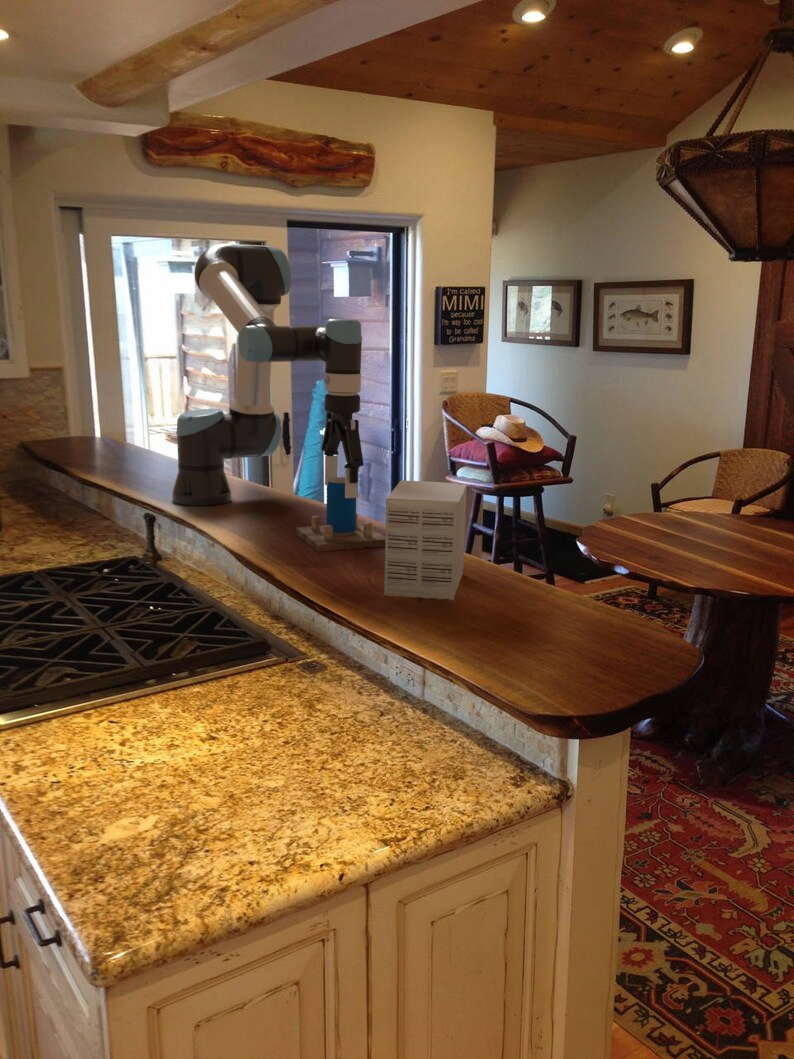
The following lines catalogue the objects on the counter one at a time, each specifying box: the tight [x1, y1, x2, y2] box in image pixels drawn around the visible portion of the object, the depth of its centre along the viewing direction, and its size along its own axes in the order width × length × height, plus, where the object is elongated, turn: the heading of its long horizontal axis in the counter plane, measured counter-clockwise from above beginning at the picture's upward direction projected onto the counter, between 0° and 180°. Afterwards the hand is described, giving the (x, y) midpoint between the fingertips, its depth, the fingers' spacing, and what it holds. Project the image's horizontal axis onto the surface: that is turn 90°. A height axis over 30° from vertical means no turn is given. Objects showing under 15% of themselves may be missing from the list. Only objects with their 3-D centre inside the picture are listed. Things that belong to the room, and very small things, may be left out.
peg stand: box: [295, 513, 386, 553], centre depth 201 cm, size 16×16×4 cm
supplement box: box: [383, 479, 468, 601], centre depth 168 cm, size 17×13×18 cm
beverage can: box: [326, 476, 357, 536], centre depth 199 cm, size 6×6×12 cm
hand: (340, 491), depth 199 cm, fingers open, 13 cm apart
